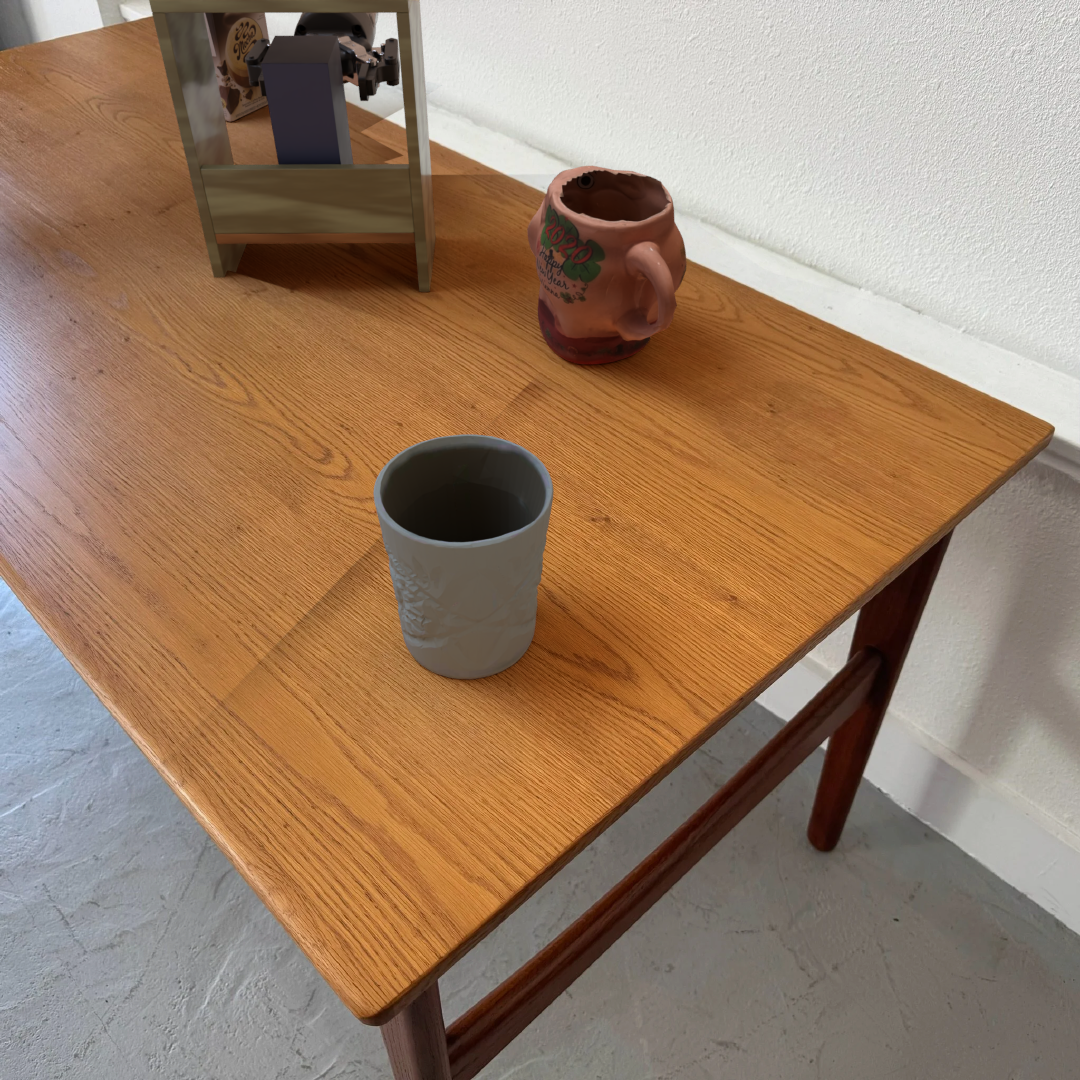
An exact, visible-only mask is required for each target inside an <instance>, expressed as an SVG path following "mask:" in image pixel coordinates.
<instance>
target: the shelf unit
mask: <svg viewBox="0 0 1080 1080" xmlns="http://www.w3.org/2000/svg"><path fill="white" fill-rule="evenodd" d="M148 3H149V6H150V11H151V13H152V15H151V16H152V19H153V23H154V27H155V32H156V37H157V40H158V44H159V50H160V53H161V58H162V62H163V66H164V71H165V74H166V79H167V84H168V88H169V93H170V97H171V100H172V104H173V108H174V113H175V118H176V121H177V125H178V130H179V134H180V139H181V143H182V147H183V151H184V155H185V160H186V164H187V168H188V172H189V177H190V181H191V186H192V190H193V195H194V199H195V203H196V207H197V210H198V211H197V212H198V216H199V219H200V223H201V228H202V232H203V233H202V234H203V237H204V242H205V245H206V249H207V253H208V254H207V255H208V258H209V262H210V266H211V270H212V276H213V278H225V277H226V275H227V272H228V271H229V272H232V273H237V270H238V268H239V265H240V262H241V260H242V257H243V255H244V252H245V251H246V246H247V244H248V245H249V244H251V245H252V244H253V245H254V244H256V245H257V244H262V245H263V244H415V254H416V255H415V256H416V257H415V258H416V267H417V268H416V269H417V280H418V290H419V292H420V293H429V292H430V291H431V286H432V285H431V284H432V276H433V267H434V266H433V265H434V255H435V249H436V248H435V247H436V238H437V236H436V222H435V221H436V220H435V206H434V190H433V178H432V177H433V176H432V162H431V161H432V160H431V148H430V133H429V132H430V131H429V118H428V103H427V90H426V87H427V86H426V73H425V62H424V61H425V60H424V59H425V58H424V45H423V30H422V29H423V28H422V16H421V1H420V0H148ZM204 13H265V14H269V13H270V14H275V13H276V14H279V13H280V14H283V13H284V14H285V13H287V14H293V13H295V14H296V13H297V14H302V13H378V14H381V13H383V14H384V13H385V14H386V13H387V14H388V13H389V14H390V13H391V14H392V13H393V14H395V15H396V28H397V40H398V48H399V60H400V74H401V76H400V77H401V89H402V97H403V112H404V123H405V135H406V146H407V147H406V148H407V159H408V160H407V161H408V163H353V164H278V163H277V164H235V161H234V157H233V156H234V155H233V151H232V147H231V146H232V145H231V142H230V141H231V140H230V137H229V131H228V126H227V121H226V120H225V116H224V111H223V106H222V101H221V96H220V92H219V87H218V82H217V77H216V72H215V67H214V62H213V57H212V52H211V47H210V42H209V37H208V32H207V27H206V22H205V17H204Z"/></svg>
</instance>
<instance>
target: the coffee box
mask: <svg viewBox="0 0 1080 1080" xmlns="http://www.w3.org/2000/svg"><path fill="white" fill-rule="evenodd" d="M204 17H205V22H206V27H207V32H208V37H209V42H210V47H211V52H212V57H213V62H214V67H215V72H216V77H217V82H218V87H219V92H220V96H221V101H222V106H223V111H224V116H225V121H226V122H234V121H236V120H238V119H240V118H242V117H244V116H246V115H249V114H251V113H253V112H255V111H257V110H259V109H261V108H263V107H266V106H268V101H267V98H266V96H262V95H261V92H260V86H258V87H254V86H250V84H249V75H248V70H247V64H246V62H245V57H246V56H247V54H248V53H249V51H250V50H251V49H252V47H253V46H254V44H255V43H256V42H257V40H259V39H262V38H265V39H269V40H270V36H269V31H268V24H267V23H268V22H267V18H266V17H267V16H266V13H204Z"/></svg>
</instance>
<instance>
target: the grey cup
mask: <svg viewBox="0 0 1080 1080" xmlns="http://www.w3.org/2000/svg"><path fill="white" fill-rule="evenodd" d="M554 493H555V491H554V483H553V480H552V477H551V475H550V472H549V470H548V469H547V467H546V466H545V464H544V463H543V462H542V461H541V460H540V459H539V458H538V457H537V456H536V455H535V454H534V453H532V452H531V451H530V450H528V449H526V448H525V447H524V446H522V445H519V444H517V443H515V442H514V441H513V442H512V441H510V440H508V439H504V438H500V437H496V436H493V435H483V434H473V433H471V434H454V435H446V436H438V437H434V438H430V439H427V440H423V441H420V442H418V443H415V444H413V445H410V446H409V447H407V448H405V449H403V450H402V451H400V452H398V453H397V454H396V455H395V456H393V457H392V458H391V459H390V460H389V461H388V462H386V463H385V465H384V466H383V467H382V469H381V470H380V472H379V474H378V475H377V477H376V479H375V483H374V487H373V501H374V506H375V512H376V515H377V518H378V522H379V526H380V532H381V536H382V541H383V547H384V550H385V552H386V554H387V557H388V568H389V572H390V573H389V574H390V578H391V582H392V587H393V591H394V596H395V597H394V598H395V599H396V601H397V607H398V608H397V613H398V617H399V623H400V628H401V632H402V637H403V641H404V644H405V646H406V648H407V650H408V652H409V653H410V655H411V656H412V657H413V658H414V660H415V661H416V662H417V663H418V664H419V665H421V667H423V668H425V669H426V670H428V671H430V672H432V673H434V674H437V675H439V676H442V677H446V678H449V679H456V680H476V679H481V678H487V677H490V676H494V675H496V674H499V673H501V672H503V671H505V670H507V669H508V668H510V667H512V666H513V665H514V664H516V663H517V662H519V660H520V659H522V658H523V656H524V655H525V654H526V652H527V651H528V649H529V648H530V646H531V643H532V641H533V639H534V635H535V631H536V623H537V611H538V594H539V592H538V587H539V586H540V583H541V582H542V574H543V567H544V566H543V565H544V564H543V562H544V553H545V549H546V545H547V534H548V530H549V525H550V521H551V520H550V519H551V513H552V509H553V500H554Z"/></svg>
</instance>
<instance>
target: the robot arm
mask: <svg viewBox="0 0 1080 1080" xmlns="http://www.w3.org/2000/svg"><path fill="white" fill-rule="evenodd" d="M378 19H379V13H300V17H299V19H298V21H297V23H296V26H295V28H294V32H293V36H338V42H339V50H340V58H341V66H342V75H343V83H344V85H345V84H348V83H350V84H352V85H354V86H356V87H358V94H359V100H360V102H369V100H370V97H374V96H375V95H376V94H377V92H378V88H380V87H381V83H385V82H386V85H387V86H390V87H395V86H396V87H397V86H399V85H400V79H401V78H400V77H401V76H400V74H401V65H400V53H399V40H398V38H395V37H389V38H387V39H385V40H384V41H385V42H384V43H380V46H376V47H375V46H374V43H375V39H376V34H377V24H378ZM270 41H271V40H270V38H269V39H265V38H262V39H259V40H257V42H256V43H255V44H254V46H253V47H252V49H251V50H250V51H249V53H248V54H247V56H246V57H245V62H246V64H247V70H248V75H249V84H250V86H254V87H258V86H260V92H261V95H262V96H266V98H267V95H266V89H265V83H264V77H263V71H262V66H261V63H262V61H263V59H264V57H265V55H266V53H267V51H268V49H269V47H270V45H271V42H270Z"/></svg>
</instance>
